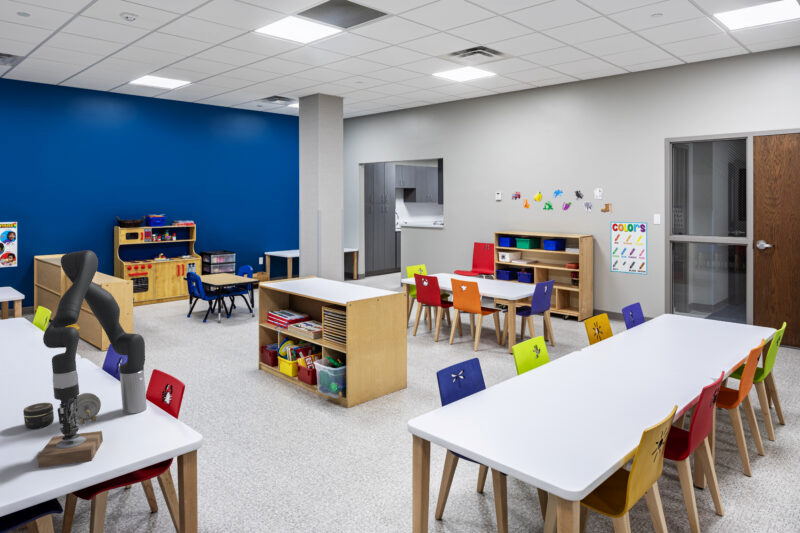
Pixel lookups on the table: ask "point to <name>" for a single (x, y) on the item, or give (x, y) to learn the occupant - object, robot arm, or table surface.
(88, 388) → the table surface
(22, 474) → the table surface
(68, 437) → the stone chess piece
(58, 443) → the walnut plinth
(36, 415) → the jar
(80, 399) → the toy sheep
